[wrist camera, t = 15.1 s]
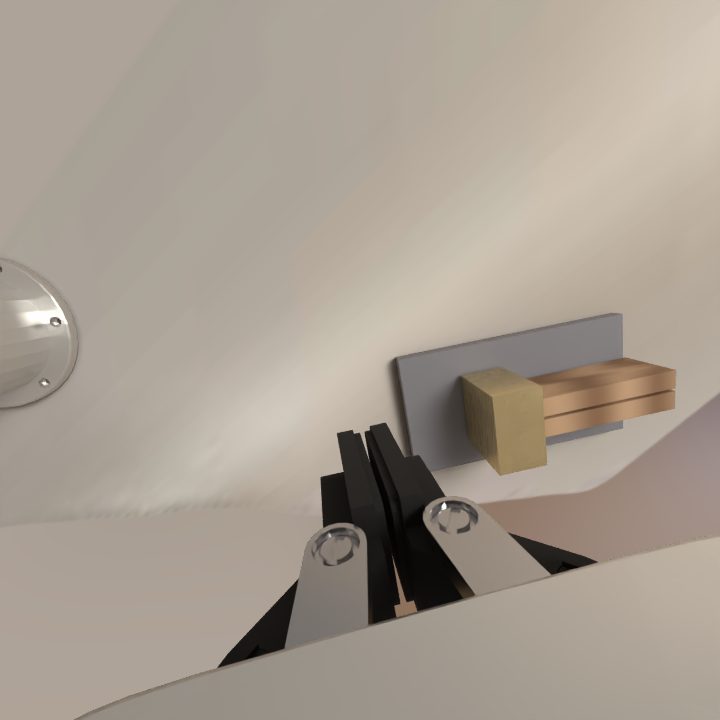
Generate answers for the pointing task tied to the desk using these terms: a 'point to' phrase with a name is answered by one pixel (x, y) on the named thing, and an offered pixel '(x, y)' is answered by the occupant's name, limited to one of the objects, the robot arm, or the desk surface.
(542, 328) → the tong mat
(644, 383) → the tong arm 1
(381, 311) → the desk surface
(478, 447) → the tan block
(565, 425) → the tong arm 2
